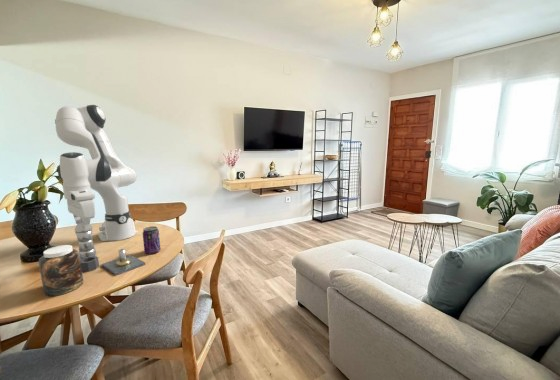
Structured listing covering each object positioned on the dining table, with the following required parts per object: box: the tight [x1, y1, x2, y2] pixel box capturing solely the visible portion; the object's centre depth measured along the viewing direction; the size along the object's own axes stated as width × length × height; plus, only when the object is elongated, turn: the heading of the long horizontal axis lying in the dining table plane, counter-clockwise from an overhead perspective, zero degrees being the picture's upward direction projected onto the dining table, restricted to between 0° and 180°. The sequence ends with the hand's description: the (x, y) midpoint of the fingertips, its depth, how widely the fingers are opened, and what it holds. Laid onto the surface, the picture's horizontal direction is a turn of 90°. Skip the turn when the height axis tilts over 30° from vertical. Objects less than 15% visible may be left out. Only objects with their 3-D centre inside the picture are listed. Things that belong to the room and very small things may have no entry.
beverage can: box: [142, 225, 161, 255], centre depth 129 cm, size 7×7×12 cm
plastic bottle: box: [74, 218, 97, 260], centre depth 120 cm, size 6×7×20 cm
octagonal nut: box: [80, 255, 100, 273], centre depth 113 cm, size 6×6×4 cm
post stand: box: [101, 248, 146, 276], centre depth 115 cm, size 14×12×7 cm
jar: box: [38, 244, 84, 297], centre depth 98 cm, size 12×12×15 cm
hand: (82, 225), depth 110 cm, fingers open, 8 cm apart
